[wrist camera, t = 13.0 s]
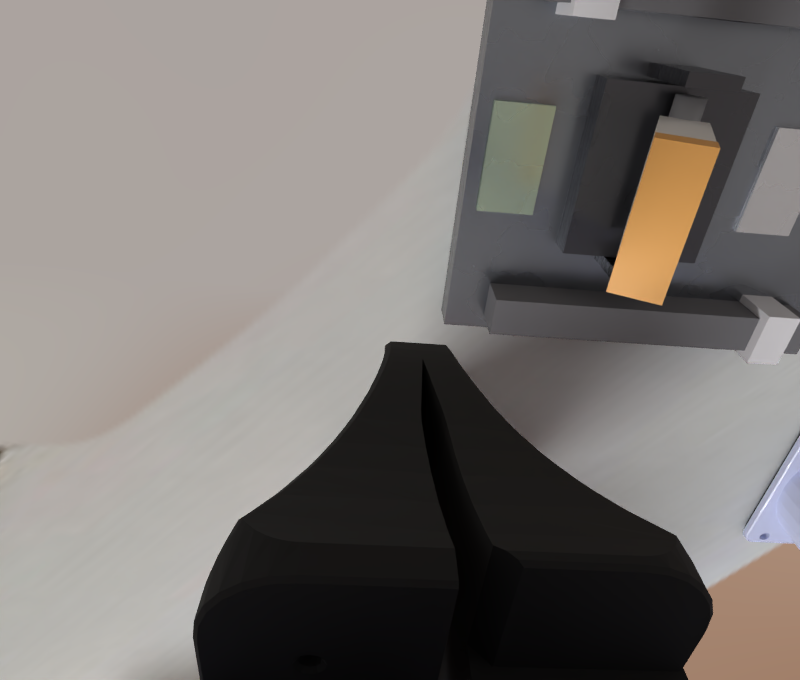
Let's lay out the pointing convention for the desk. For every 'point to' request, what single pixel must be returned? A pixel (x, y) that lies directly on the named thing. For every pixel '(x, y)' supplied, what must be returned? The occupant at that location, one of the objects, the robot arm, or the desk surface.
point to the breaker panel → (623, 153)
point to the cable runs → (678, 316)
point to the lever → (665, 201)
